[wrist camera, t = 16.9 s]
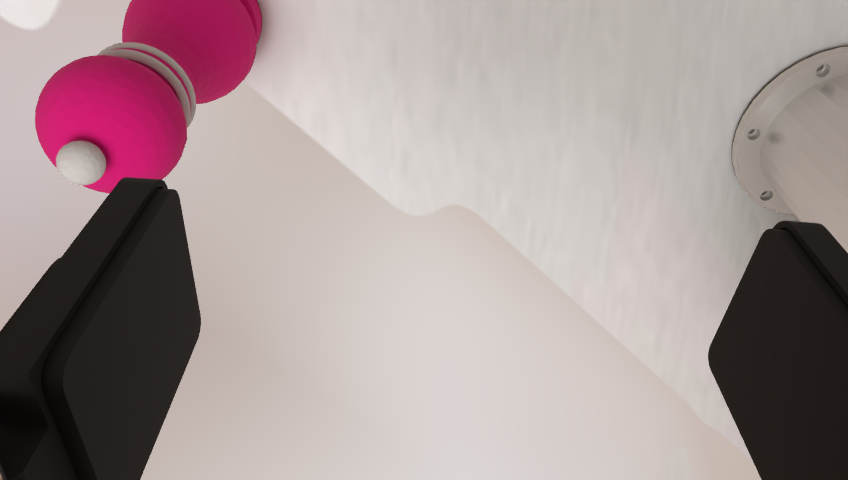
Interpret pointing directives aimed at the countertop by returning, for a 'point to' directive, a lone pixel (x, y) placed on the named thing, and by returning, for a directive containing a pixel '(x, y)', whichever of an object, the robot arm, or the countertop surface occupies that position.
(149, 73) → the pepper mill
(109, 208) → the robot arm
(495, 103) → the countertop surface
